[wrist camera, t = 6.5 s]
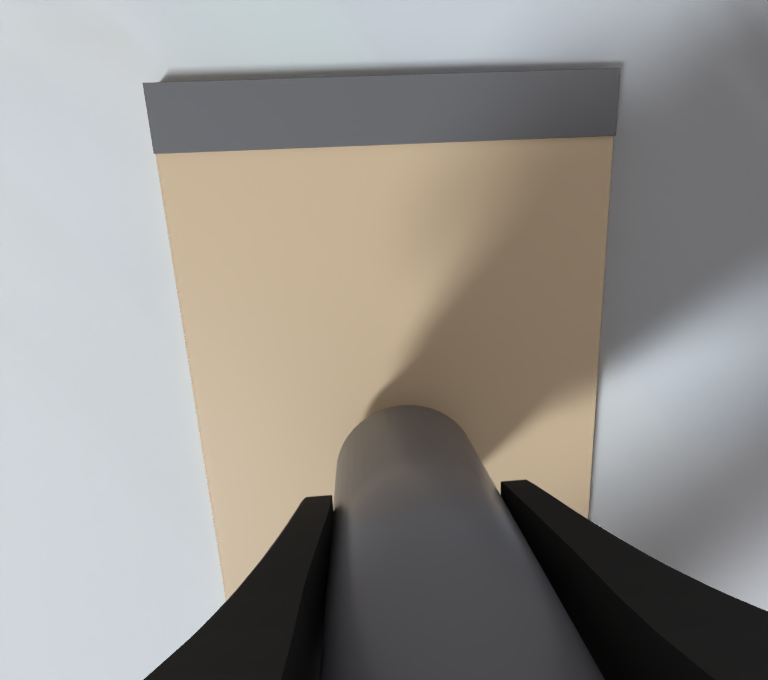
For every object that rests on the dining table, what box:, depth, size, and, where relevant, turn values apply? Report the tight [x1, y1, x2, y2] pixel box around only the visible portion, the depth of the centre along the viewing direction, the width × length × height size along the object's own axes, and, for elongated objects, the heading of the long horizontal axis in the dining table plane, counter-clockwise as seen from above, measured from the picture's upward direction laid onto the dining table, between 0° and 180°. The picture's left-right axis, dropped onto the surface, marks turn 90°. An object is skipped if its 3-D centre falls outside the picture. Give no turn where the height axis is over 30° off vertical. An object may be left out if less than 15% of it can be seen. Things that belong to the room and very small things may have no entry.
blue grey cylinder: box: [319, 405, 605, 680], centre depth 8 cm, size 4×4×10 cm
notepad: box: [143, 68, 620, 601], centre depth 14 cm, size 12×21×1 cm, turn 3°
